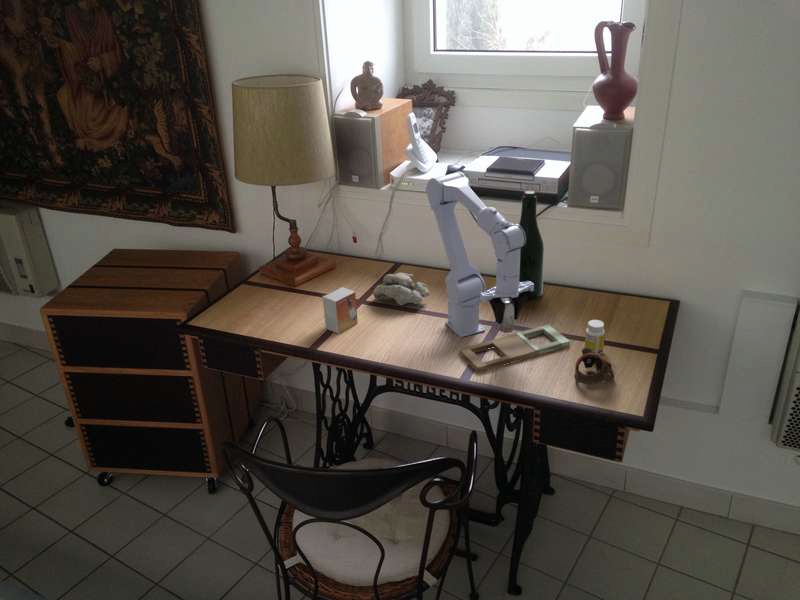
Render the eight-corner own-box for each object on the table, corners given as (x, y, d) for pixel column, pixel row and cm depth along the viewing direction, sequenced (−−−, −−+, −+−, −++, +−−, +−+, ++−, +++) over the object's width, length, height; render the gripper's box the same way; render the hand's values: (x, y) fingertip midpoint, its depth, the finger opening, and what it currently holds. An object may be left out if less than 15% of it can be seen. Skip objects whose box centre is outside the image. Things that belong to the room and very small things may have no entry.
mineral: (423, 308, 200) (428, 274, 200) (367, 301, 203) (371, 267, 203) (431, 309, 212) (435, 277, 212) (377, 301, 215) (381, 270, 215)
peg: (495, 327, 178) (496, 300, 175) (508, 323, 180) (509, 296, 176) (503, 334, 175) (504, 306, 171) (516, 330, 176) (517, 303, 173)
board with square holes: (459, 353, 181) (459, 348, 181) (547, 329, 191) (548, 323, 190) (477, 372, 173) (477, 367, 172) (569, 345, 183) (569, 340, 182)
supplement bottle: (599, 345, 182) (602, 318, 178) (605, 355, 178) (608, 327, 174) (581, 346, 182) (584, 319, 178) (586, 356, 178) (589, 328, 174)
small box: (338, 334, 193) (335, 302, 188) (325, 328, 197) (321, 296, 192) (358, 323, 198) (355, 291, 193) (345, 317, 202) (342, 286, 197)
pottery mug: (623, 387, 166) (616, 369, 160) (588, 404, 167) (579, 387, 162) (601, 351, 175) (594, 333, 169) (568, 368, 176) (559, 351, 170)
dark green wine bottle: (526, 283, 216) (531, 183, 201) (549, 295, 208) (556, 192, 193) (500, 292, 212) (503, 190, 196) (523, 305, 204) (527, 200, 188)
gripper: (490, 285, 164) (489, 333, 171) (541, 273, 169) (538, 320, 175) (476, 274, 170) (475, 321, 177) (526, 262, 175) (524, 308, 181)
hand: (506, 320), depth 176 cm, fingers closed on peg, 4 cm apart
